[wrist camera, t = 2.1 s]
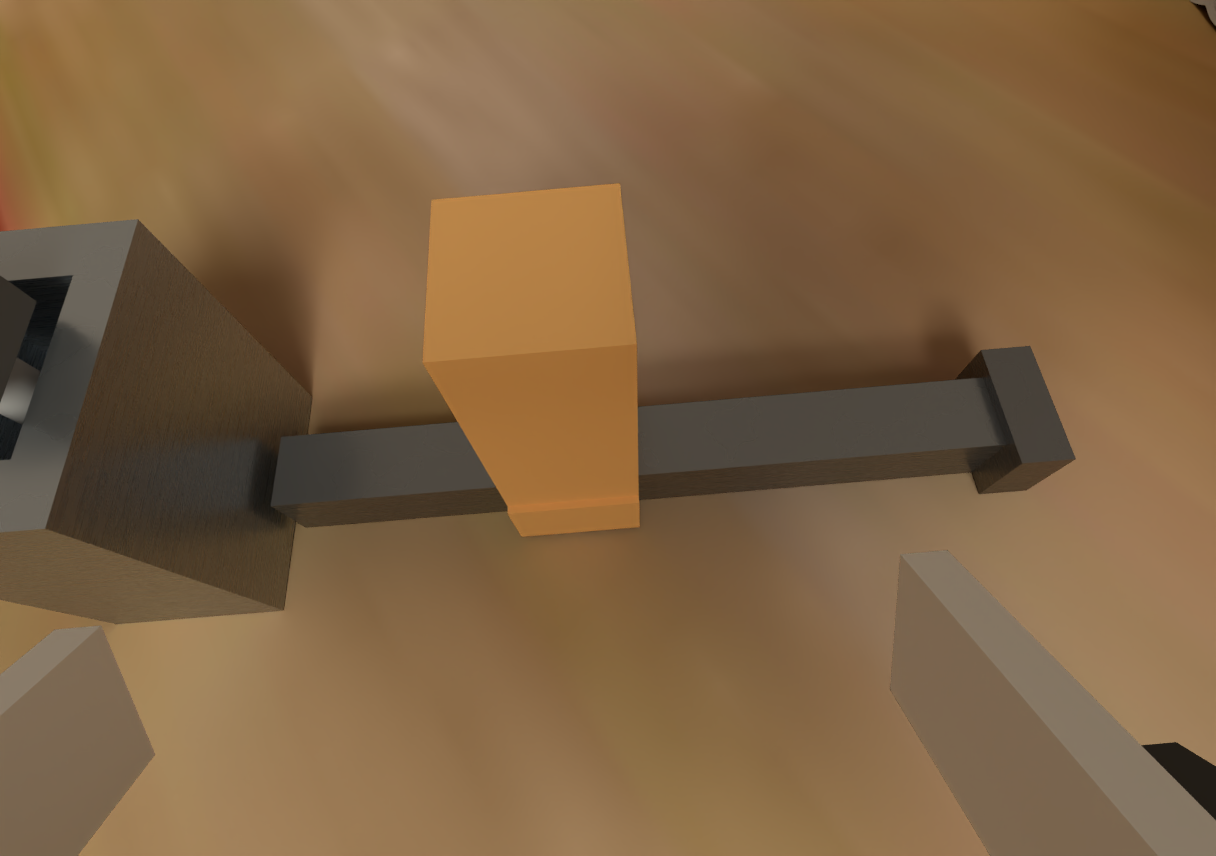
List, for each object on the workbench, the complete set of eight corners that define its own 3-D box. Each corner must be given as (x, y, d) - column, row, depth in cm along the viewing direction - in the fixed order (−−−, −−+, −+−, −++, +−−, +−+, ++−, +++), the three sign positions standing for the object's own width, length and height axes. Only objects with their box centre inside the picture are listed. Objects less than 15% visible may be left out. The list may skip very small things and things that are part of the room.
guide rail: (989, 386, 30) (1030, 346, 27) (1026, 490, 28) (1075, 459, 25) (316, 443, 30) (278, 410, 27) (302, 550, 28) (259, 526, 25)
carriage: (628, 408, 30) (618, 174, 17) (639, 526, 28) (638, 355, 15) (519, 417, 30) (432, 191, 18) (521, 536, 28) (421, 373, 15)
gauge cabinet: (313, 389, 32) (140, 209, 21) (283, 610, 27) (45, 528, 16) (169, 401, 32) (-78, 229, 21) (116, 623, 27) (-231, 551, 16)
